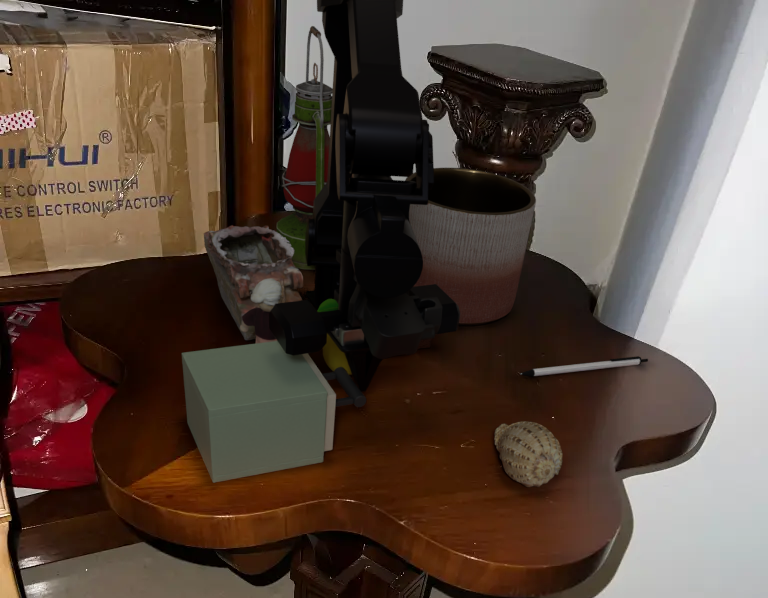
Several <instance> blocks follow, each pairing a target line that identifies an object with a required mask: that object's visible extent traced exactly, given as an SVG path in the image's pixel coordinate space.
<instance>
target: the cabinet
mask: <svg viewBox="0 0 768 598" xmlns="http://www.w3.org/2000/svg"><path fill="white" fill-rule="evenodd" d="M181 364H182V373H183V374H182V375H183V386H184V398H185V410H186V421H187V425H188V428H189V431H190V433H191V435H192V437H193V439H194V442H195V444H196V447H197V449H198V451H199V454H200V456H201V458H202V460H203V463H204V465H205V468H206V470H207V472H208V474H209V477H210V479H211V482H212V483H213V484H214V483H221V482H225V481H231V480H236V479H241V478H247V477H251V476H257V475H262V474H267V473H273V472H278V471H283V470H289V469H295V468H300V467H304V466H310V465H315V464H319V463H320V464H321V463H323V462H324V458H325V457H324V455H325V451H324V441H325V424H326V407H327V391H326V389H325V388H324V386H323V385H322V383H321V382H320V380H319V379H318V377H317V376H316V374H315V373H314V371H313V370H312V368H311V367H310V365H309V364H308V363H307V361H306V360H305V358H304V357H303V355H302V354H300V355H294V356H293V355H290V354H286V353H285V351H284V350H283V348H282V347H281V345H280V344H279V342H278V341H273V342H265V343H257V344H255V343H249V344H241V345H233V346H225V347H218V348H217V347H216V348H210V349H202V350H195V351H194V350H193V351H186V352H181Z"/></svg>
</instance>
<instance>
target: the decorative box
mask: <svg viewBox="0 0 768 598" xmlns="http://www.w3.org/2000/svg"><path fill="white" fill-rule="evenodd" d="M285 238H286V237H285ZM285 238H284V237H283V236H282V235H280V234H279V233H277V231H276V230H273V229H272V228H271V229H270V227H269V225H263V226H259V225H255V226H248V225H245V226H237V225H233V224H231V225H229V226H227V227H224V228H221V229H218V230H208V231H205V232H204V233H203V242H204V248H205V251H206V254H207V256H208V258H209V260H210V263H211V266H212V268H213V271H214V274H215V277H216V281H217V286H218V289H219V294H220V297H221V299H222V301H223V303H224V304H225V306H226V308H227V309H228V311H229V313H230V315H231V317H232V319H233V320H234V322H235V324H236V326H237V328H238V330H239V333H241V335H242V336H243V339H244V340H245V341H251V340H256V334H255V326H250V327H249V330H248V331H247V332H245V333H244V332H242V331H241V330H240V325H241V324H242V316H243V315H244V314H245V313H247V312H248V311H249V310H251V309H253V308H260V307H259V305H258V303H254V302H252V300H251V294H252V293H253V290H254V288H255V287H256V285H257V284H258V283H259V282H261V281H262V280H264V279H270V278H273V279H275V280H276V281H278V282H279V283H280V286H281V288H282V291H281V294H282V295H280V298H281V303H285V302H293V301H301V300H303V298H302V297H301V295H300V292H299V291H298V289H303V287H304V276H303V274H302V271H300V268H295V266H294V264H293V262H292V256H293V254H294V249H293V248H292V247H291V246H292V245H291V244H288V243H287V242H289V241H288V240H286V239H285Z"/></svg>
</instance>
